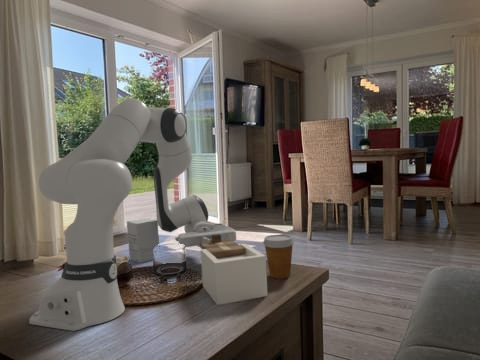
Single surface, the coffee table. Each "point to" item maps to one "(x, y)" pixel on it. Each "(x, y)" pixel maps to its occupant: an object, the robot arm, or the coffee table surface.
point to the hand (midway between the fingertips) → (212, 242)
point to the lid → (222, 247)
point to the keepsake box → (234, 276)
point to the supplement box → (142, 239)
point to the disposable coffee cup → (279, 255)
